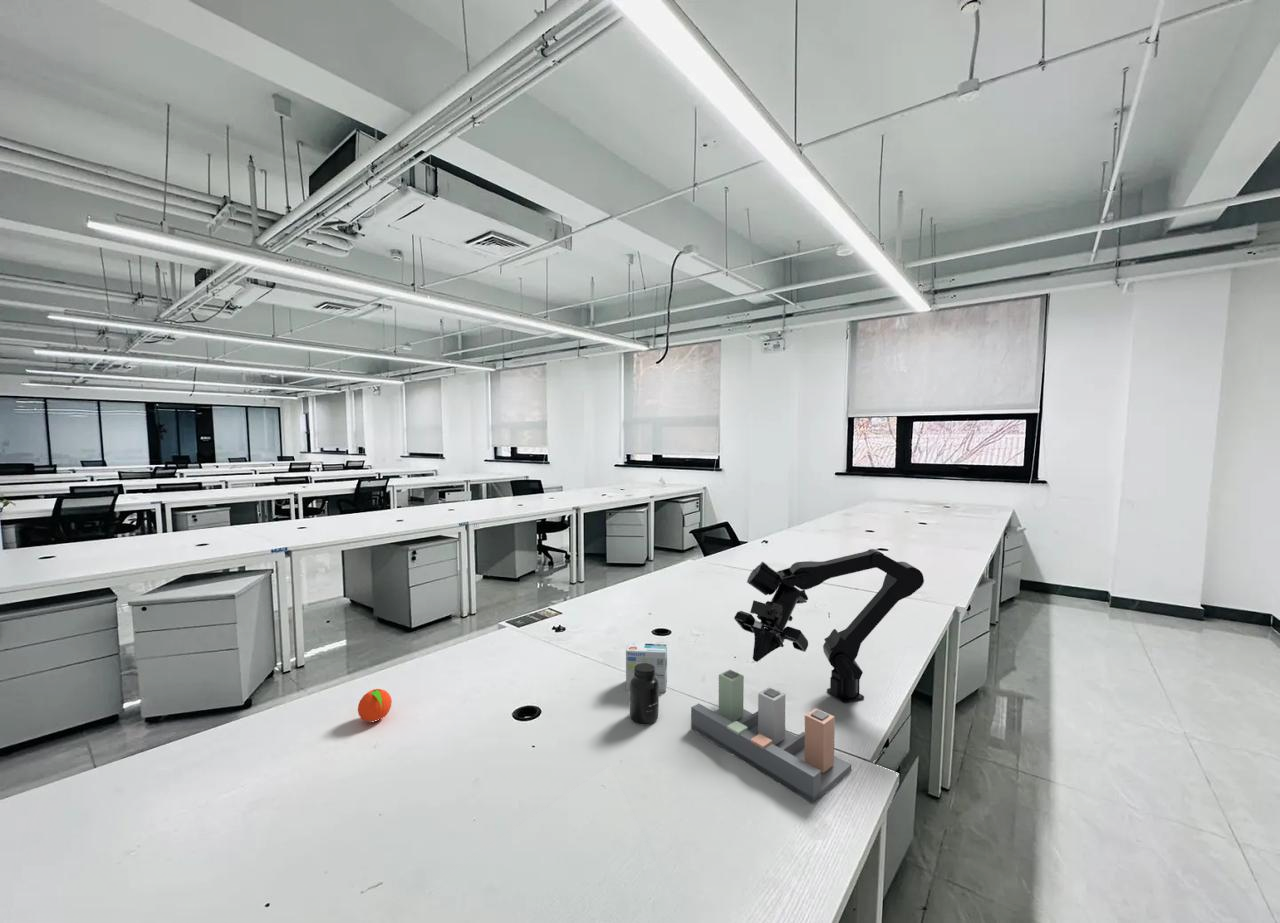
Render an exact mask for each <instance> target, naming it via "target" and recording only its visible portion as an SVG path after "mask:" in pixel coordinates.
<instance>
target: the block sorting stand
mask: <svg viewBox="0 0 1280 923" xmlns="http://www.w3.org/2000/svg"><path fill="white" fill-rule="evenodd" d="M690 708H691V710H690V712H691V713H690V714H691V717H690V719H691V720H690V722H691V723H690V729H691V730H692V731H694V732H696V733H697V734H699V735H700V736H702V737H704V738H705V739H707V740H708V741H710V742H712V743H713V744H715V745H716V746H718V747H720V748H721V749H724V750H725V751H726V752H728V753H729V754H731V755H732V756H734V757H736V758H738V759H739V760H741V761H742V762H744V763H746V764H747V765H749V766H750V767H752V768H754V769H755V770H757V771H759V772H760V773H761V774H763V775H765V776H766V777H768V778H770V779H771V780H773V781H775V782H776V783H778V784H780V785H781V786H783V787H784V788H785V789H788V790H790V791H791V792H792V793H794V794H796V795H797V796H799V797H800V798H802V799H804V800H805V801H807V802H809V803H810V804H812V805H815V804H816V803H817V802H818V801H819V800H820V799H821V798H822V797H823V796H824V795H826V794H827V793H828V792H829V791H830V790H831V789H832V788H833V787H835V786H836V785H837V784H838V783H839V782H841V781H842V780H843V779H844V778H845V777H846V776H847V775H848V774H849V773H850V772H851V771H852V764H851V763H849V762H847V761H845V760H843V759H841V758H840V757H838V756H836V755H834V765H833V766H831V767H830V768H829V769H828V770H827V771H825V772H824V773H822V772H821V770H819V769H817V768H815V767H813V766H811V765H810V764H808V763H806V762H804V756H805V731H802V732H801V733H799V734H798V735H794V733H791V732H789V731H787V730H785V739H783V740H782V741H780V742H779V743H777V744H776V745H773V744H772V740H771V739H769V738H767V737H765V736H763V735H761V734H758V710H757V711H755V712H754V713H752V712H750V711H748V710H746V709H744V708H743V717H741V718H739V719H738V720H736V721H734V722H732V721H730V720H728V719H726V718H725V717H723V716H721V715H719V708H718V709H716V710H714V711H713V710H712V709H710V708H708V707H706V706H705V705H703V704H701V703H696V704H695V705H693V706H691V707H690ZM844 776H845V777H844ZM843 777H844V778H843ZM836 783H837V784H836ZM835 784H836V785H835ZM827 791H828V792H827ZM826 792H827V793H826Z"/></svg>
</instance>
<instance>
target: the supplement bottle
mask: <svg viewBox="0 0 1280 923" xmlns="http://www.w3.org/2000/svg"><path fill="white" fill-rule="evenodd" d="M659 693H660V692H659V682H658V680H657V678H656V677H655V667H654V666H653V665H652V664H648V663H640V664H637V665H636V666H635V668H634V677H633V678H632V679H631V681H630V690H629V719H630V721H632V722H633V723H634V724H638V725H643V726H646V725H647V726H648V725H651V724H654V723H655V722H656V721H658V719H659V711H660V710H659V706H660V705H659V704H660V703H659V701H660V700H659V699H660V694H659Z"/></svg>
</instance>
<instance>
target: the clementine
mask: <svg viewBox="0 0 1280 923" xmlns="http://www.w3.org/2000/svg"><path fill="white" fill-rule="evenodd" d="M392 700H393V699H392V697H391V695H390V694H389V692H388V691H387V690H384V689H383V688H376V689H374V688H373V689H371V690H369V691H367V693H365V694H364V695H363V696H362V697H361V698H360V700H359V703H358V705H357V713H358V716H359V718H360V719H361V720H363V721H364V720H365V721H364V722H366V721H375V720H378V719H381V718H382V719H383V717H384V718H385V717H386V716H387V715H388V714H389V713H390V711H391V708H392ZM382 719H381V720H382Z"/></svg>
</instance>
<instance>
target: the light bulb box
mask: <svg viewBox="0 0 1280 923" xmlns="http://www.w3.org/2000/svg"><path fill="white" fill-rule="evenodd" d="M667 645H668V643H667V642H665V641H663V642H662V641H661V642H659V641H657V642H652V641H631V640H629V641H628V645H627V647H626V650H625V684H626V685H625V690H626V691H630V681H631V679H632V678H633V677H634V668H635V666H636V665H637V664H640V663H648V664H652V665H653V666H654V667H655V677H656V678H657V680H658V682H659V693H666V692H667V686H668V646H667Z"/></svg>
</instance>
